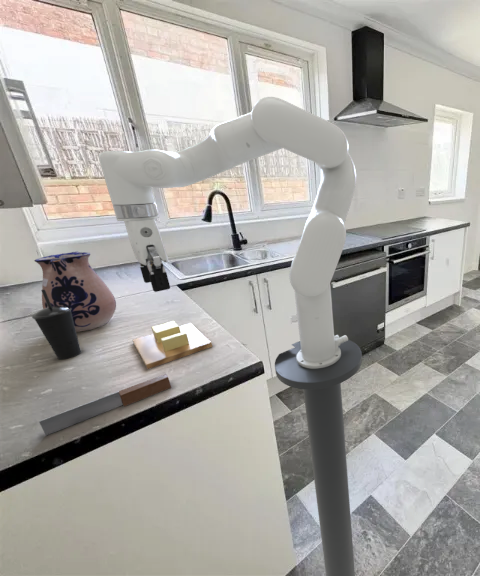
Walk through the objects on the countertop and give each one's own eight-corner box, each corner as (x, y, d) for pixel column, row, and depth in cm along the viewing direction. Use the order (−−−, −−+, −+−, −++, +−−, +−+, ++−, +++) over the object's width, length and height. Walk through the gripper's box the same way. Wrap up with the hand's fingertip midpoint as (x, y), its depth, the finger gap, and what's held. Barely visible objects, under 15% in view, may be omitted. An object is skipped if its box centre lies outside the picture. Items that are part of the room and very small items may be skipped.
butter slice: (187, 341, 92) (184, 331, 91) (189, 344, 91) (186, 333, 90) (163, 349, 88) (160, 338, 87) (165, 351, 87) (162, 340, 86)
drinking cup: (47, 365, 84) (16, 297, 77) (55, 353, 90) (27, 288, 83) (84, 356, 88) (58, 290, 81) (89, 345, 94) (66, 283, 87)
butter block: (176, 330, 99) (173, 320, 98) (181, 336, 95) (179, 326, 94) (154, 337, 95) (151, 326, 94) (158, 343, 91) (155, 332, 90)
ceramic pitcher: (47, 344, 95) (13, 265, 87) (62, 320, 111) (35, 253, 103) (119, 328, 105) (95, 256, 96) (123, 309, 121) (103, 246, 113)
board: (191, 326, 105) (190, 322, 105) (212, 346, 92) (211, 342, 92) (133, 343, 94) (132, 339, 94) (147, 369, 81) (146, 364, 81)
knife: (169, 383, 75) (165, 371, 74) (171, 387, 74) (167, 375, 73) (45, 432, 61) (39, 418, 60) (45, 438, 60) (38, 424, 59)
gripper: (166, 213, 65) (185, 289, 71) (149, 209, 76) (166, 275, 82) (121, 216, 60) (145, 298, 65) (109, 211, 71) (131, 282, 77)
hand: (157, 285), depth 74 cm, fingers open, 9 cm apart
